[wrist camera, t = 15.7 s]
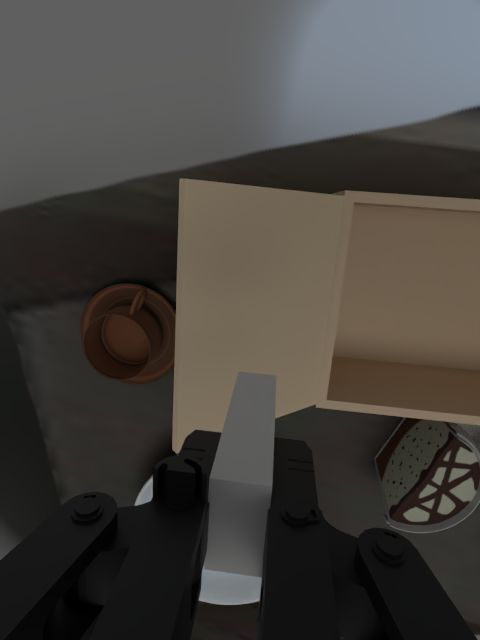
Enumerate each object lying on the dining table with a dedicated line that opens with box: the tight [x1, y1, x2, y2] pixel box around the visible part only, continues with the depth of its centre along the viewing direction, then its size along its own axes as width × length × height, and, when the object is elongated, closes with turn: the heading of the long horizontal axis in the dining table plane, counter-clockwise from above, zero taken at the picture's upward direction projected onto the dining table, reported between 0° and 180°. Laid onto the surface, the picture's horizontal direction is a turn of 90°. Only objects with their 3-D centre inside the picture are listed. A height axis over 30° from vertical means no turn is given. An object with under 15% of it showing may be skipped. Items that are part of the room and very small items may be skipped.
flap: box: [172, 179, 344, 454], centre depth 29 cm, size 17×14×1 cm
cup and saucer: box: [80, 284, 176, 384], centre depth 45 cm, size 12×12×6 cm
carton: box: [315, 190, 480, 425], centre depth 38 cm, size 18×28×12 cm, turn 86°
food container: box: [374, 417, 480, 533], centre depth 44 cm, size 12×6×10 cm, turn 153°
